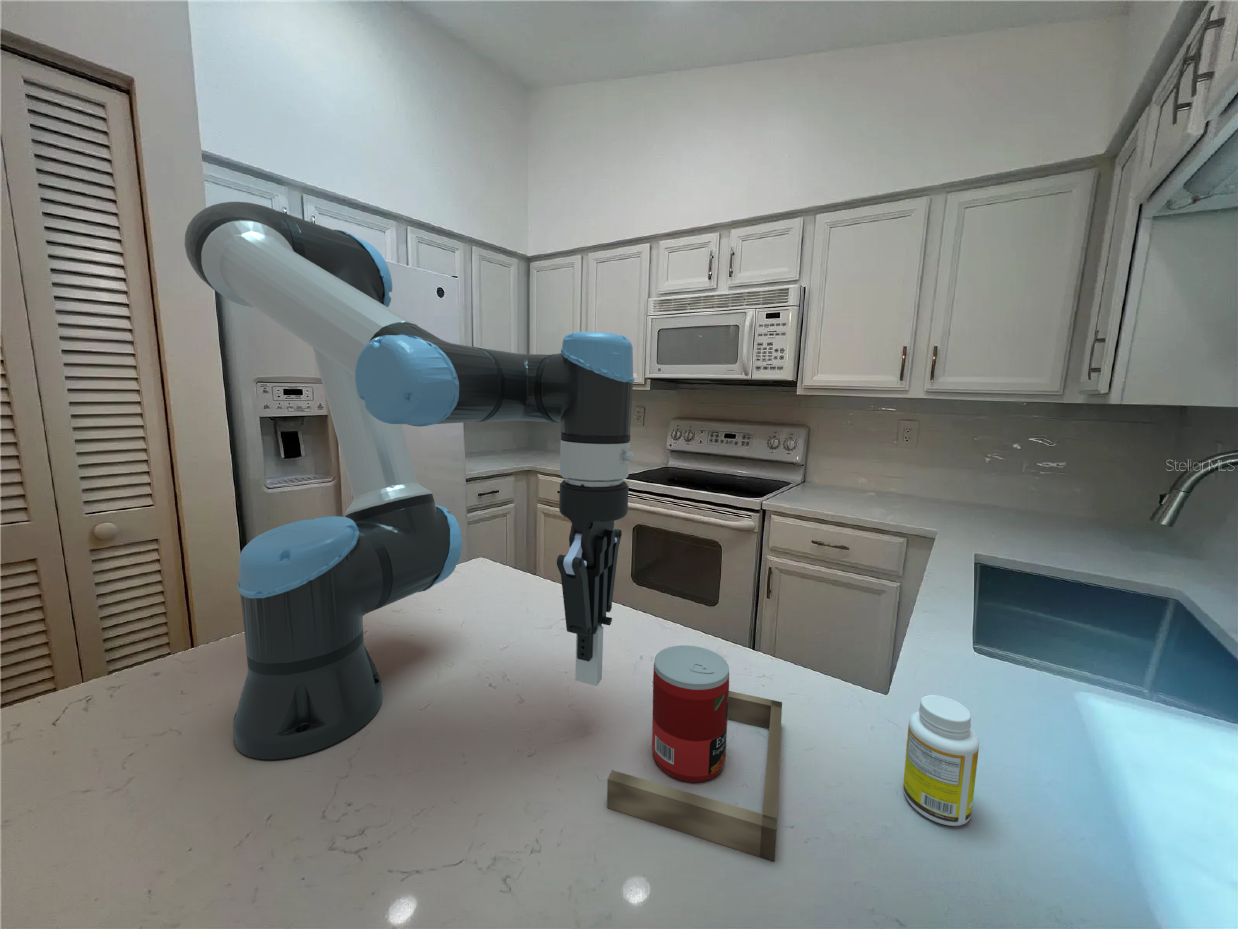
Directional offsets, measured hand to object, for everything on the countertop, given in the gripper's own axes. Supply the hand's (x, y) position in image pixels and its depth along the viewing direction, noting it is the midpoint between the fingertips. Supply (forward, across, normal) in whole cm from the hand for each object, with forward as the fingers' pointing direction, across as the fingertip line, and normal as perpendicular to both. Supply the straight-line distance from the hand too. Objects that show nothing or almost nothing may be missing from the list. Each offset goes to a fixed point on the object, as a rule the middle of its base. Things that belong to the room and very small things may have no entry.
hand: (588, 679), depth 55 cm
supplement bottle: (+6, +2, -36) cm, 36 cm away
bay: (+6, 0, -15) cm, 16 cm away
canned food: (+6, 0, -12) cm, 14 cm away
